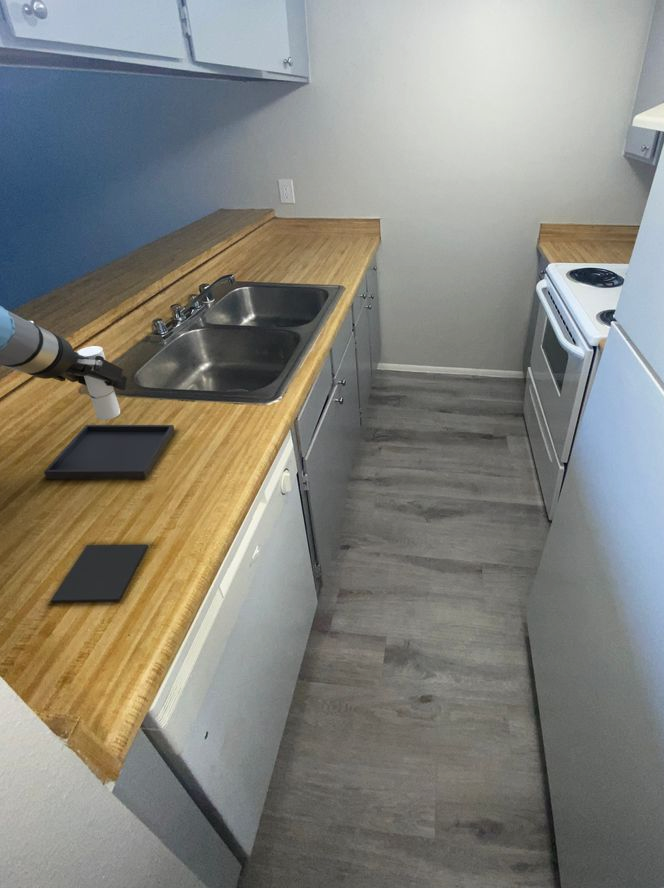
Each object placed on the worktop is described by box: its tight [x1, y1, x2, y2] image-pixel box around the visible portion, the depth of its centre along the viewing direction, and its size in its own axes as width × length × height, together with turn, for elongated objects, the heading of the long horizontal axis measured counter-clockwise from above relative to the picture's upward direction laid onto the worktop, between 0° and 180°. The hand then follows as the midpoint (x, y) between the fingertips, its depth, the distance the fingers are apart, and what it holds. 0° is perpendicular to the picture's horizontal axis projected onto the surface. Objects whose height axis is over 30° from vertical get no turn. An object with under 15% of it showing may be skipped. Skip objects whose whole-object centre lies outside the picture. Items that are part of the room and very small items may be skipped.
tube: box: [77, 345, 121, 421], centre depth 95 cm, size 4×4×15 cm
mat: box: [50, 544, 149, 604], centre depth 76 cm, size 10×10×1 cm
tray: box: [43, 424, 176, 480], centre depth 101 cm, size 19×15×2 cm
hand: (111, 383), depth 99 cm, fingers closed on tube, 4 cm apart
